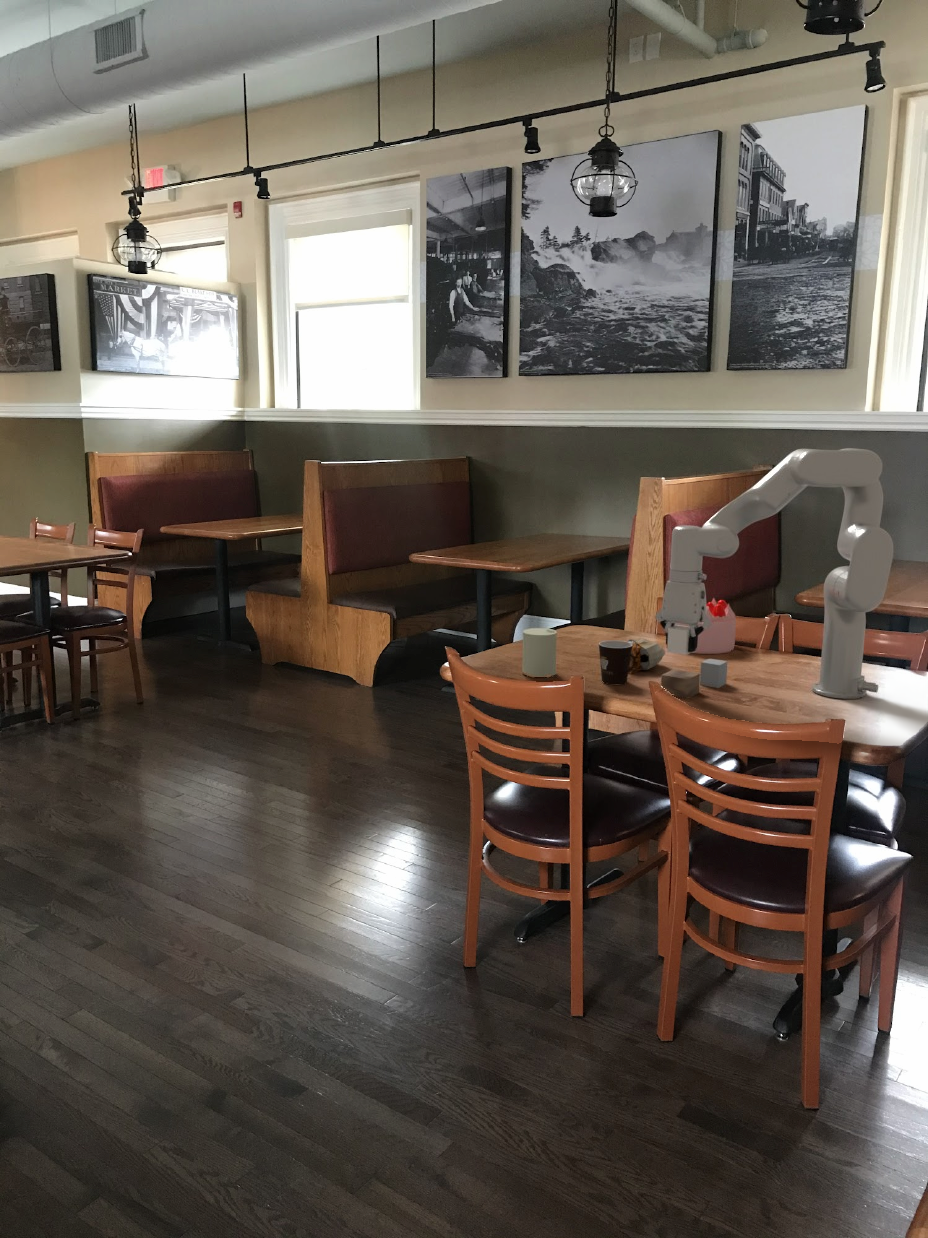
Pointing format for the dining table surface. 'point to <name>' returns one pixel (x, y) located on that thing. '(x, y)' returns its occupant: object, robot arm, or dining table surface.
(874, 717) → the dining table surface
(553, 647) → the can
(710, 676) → the grey block
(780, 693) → the dining table surface
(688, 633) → the ceramic block
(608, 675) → the coffee mug
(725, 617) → the cake
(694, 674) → the metal block
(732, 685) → the dining table surface
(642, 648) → the nautilus
